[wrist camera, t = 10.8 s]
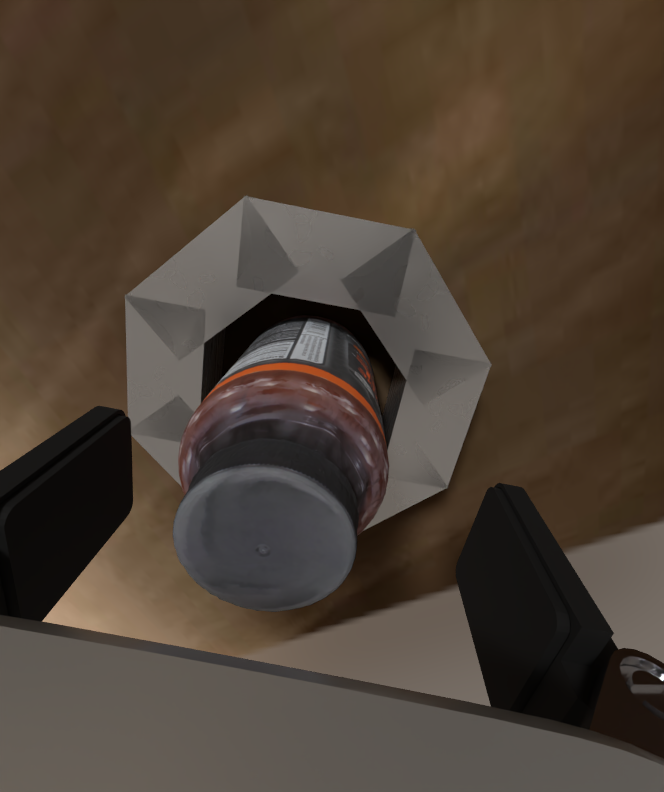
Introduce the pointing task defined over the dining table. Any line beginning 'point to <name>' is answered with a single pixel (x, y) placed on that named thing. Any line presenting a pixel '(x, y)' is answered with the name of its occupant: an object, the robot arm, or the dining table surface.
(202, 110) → the dining table surface
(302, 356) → the supplement bottle
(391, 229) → the grey octagonal ring
